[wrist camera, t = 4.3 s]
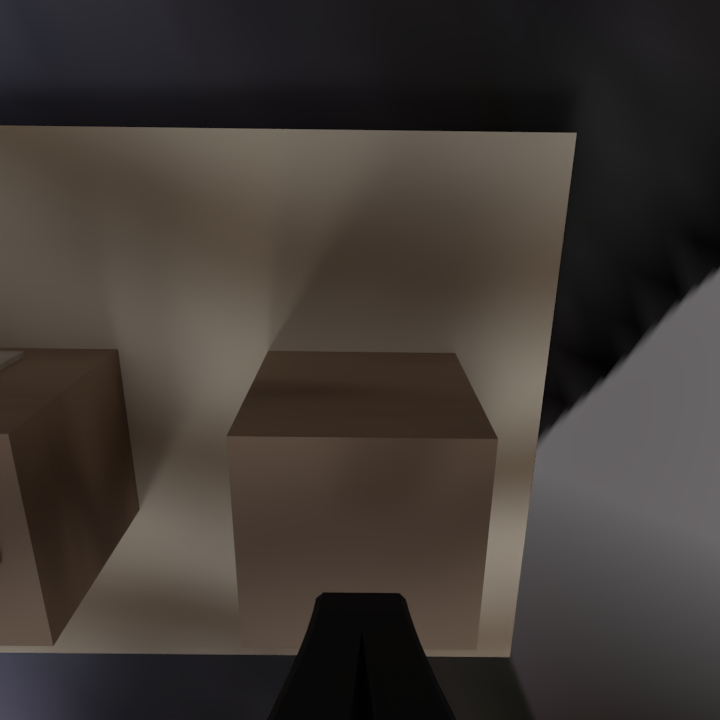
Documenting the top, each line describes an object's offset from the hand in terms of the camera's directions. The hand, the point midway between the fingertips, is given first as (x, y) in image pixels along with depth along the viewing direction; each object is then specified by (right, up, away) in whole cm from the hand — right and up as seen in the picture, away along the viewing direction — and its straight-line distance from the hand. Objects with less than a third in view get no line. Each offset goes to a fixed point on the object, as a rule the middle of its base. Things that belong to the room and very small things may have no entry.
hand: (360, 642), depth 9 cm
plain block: (0, +2, +7) cm, 7 cm away
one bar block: (-9, +2, +7) cm, 12 cm away
